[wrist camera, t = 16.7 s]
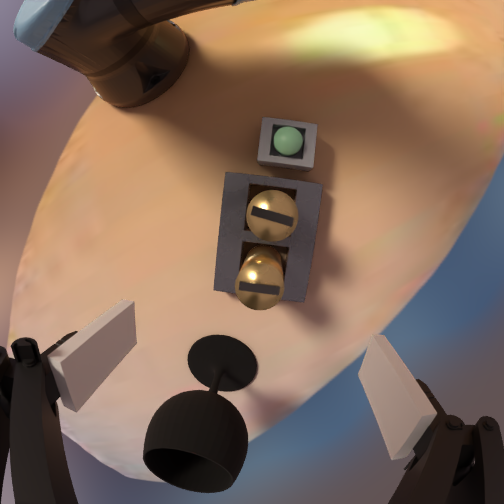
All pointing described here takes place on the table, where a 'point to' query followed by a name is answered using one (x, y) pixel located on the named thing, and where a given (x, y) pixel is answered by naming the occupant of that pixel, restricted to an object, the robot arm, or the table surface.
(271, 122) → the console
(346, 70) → the table surface
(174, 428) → the wine glass
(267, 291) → the loose billet
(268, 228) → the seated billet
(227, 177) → the grey flat frame
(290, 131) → the button
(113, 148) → the table surface
